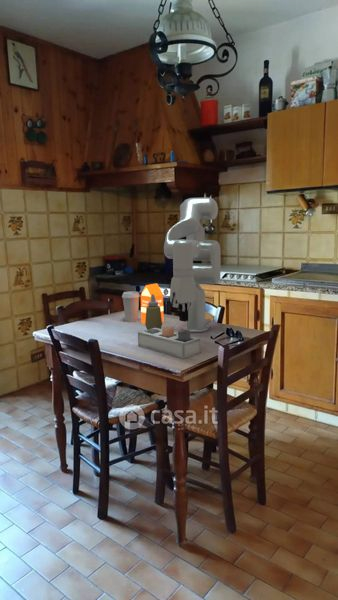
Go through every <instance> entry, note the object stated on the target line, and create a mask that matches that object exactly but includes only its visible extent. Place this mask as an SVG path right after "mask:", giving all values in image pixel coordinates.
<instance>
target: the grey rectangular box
mask: <svg viewBox="0 0 338 600" xmlns="http://www.w3.org/2000/svg"><path fill="white" fill-rule="evenodd" d="M152 329H158V330H159V332H158V333H155V334H151V333H147V329H145V330H141V331H138V332H137V339H138V340H137V342H138V344H137V346H138V347H140V348H144V349H147V350H151V351H154V352H158V353H160V354H163V355H168V356H171V357H174V358H178V359H180V360H181V359H182V360H186V359H187V358H190V357H194V356H196V355H198V354H201V353H202V352H201V349H202V348H201V342H202V341H201V338H200V337H196V336H192V335H190V341H187V342H182V341H178V332H175V331H174V336H173V337H170V338H166V337H162V328H161V329H159V328H152ZM148 330H149V329H148Z"/></svg>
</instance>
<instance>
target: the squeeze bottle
mask: <svg viewBox="0 0 338 600" xmlns="http://www.w3.org/2000/svg"><path fill="white" fill-rule="evenodd" d="M144 325H145V328H146V330H148V329H152V328H159V329H162V328H163V327H162V326H163V322H162V318H161V310H160V307H159V306H158V302H157V301H156V300H155V296H154V294H152V295H151V301H150V302H148V307H147V308H146V321H145V324H144Z"/></svg>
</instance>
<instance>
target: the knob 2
mask: <svg viewBox="0 0 338 600" xmlns="http://www.w3.org/2000/svg"><path fill="white" fill-rule="evenodd" d="M177 333H178V341H182V342H187V341H190V336H191V332H190V331H188V330H183V329H182V330H178V331H177Z"/></svg>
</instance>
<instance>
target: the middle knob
mask: <svg viewBox="0 0 338 600" xmlns="http://www.w3.org/2000/svg"><path fill="white" fill-rule="evenodd" d="M161 329H162V337H166V338H170V337H173V336H174V332H175V328H174V326H163V327H161Z"/></svg>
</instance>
